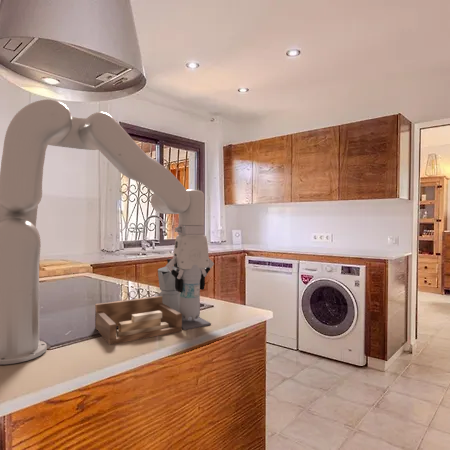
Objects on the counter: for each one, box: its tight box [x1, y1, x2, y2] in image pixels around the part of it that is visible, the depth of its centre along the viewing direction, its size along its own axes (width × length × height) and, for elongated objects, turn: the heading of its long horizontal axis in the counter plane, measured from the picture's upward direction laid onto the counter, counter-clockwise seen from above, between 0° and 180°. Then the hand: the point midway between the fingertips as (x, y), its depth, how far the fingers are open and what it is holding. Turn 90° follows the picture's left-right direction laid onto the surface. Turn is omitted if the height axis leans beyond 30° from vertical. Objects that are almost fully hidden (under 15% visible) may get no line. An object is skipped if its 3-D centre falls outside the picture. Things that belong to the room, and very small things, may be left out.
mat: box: [182, 316, 212, 331], centre depth 107 cm, size 9×9×1 cm
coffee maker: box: [157, 258, 180, 312], centre depth 120 cm, size 15×9×18 cm, turn 167°
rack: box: [94, 295, 183, 346], centre depth 101 cm, size 20×15×7 cm
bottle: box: [179, 265, 202, 320], centre depth 107 cm, size 7×7×20 cm
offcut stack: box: [116, 311, 169, 337], centre depth 97 cm, size 14×2×6 cm, turn 123°
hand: (190, 289), depth 107 cm, fingers closed on bottle, 6 cm apart
